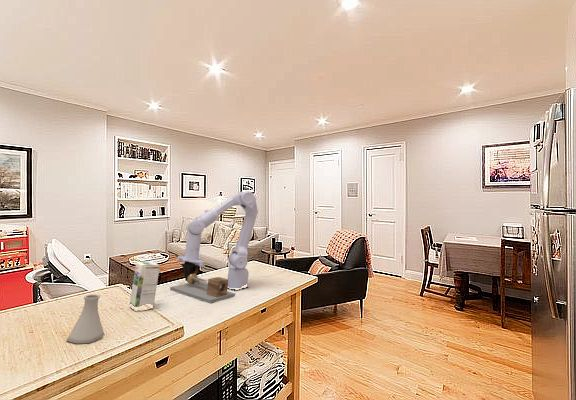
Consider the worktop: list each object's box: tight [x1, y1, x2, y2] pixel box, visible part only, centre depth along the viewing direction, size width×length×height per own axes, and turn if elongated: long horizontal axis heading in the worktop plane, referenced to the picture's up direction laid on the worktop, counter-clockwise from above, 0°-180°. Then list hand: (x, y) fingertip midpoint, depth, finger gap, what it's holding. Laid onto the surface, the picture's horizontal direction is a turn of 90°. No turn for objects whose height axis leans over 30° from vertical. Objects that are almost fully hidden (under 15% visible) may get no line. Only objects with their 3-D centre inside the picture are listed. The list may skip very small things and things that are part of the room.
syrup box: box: [129, 260, 161, 307], centre depth 92 cm, size 6×6×14 cm
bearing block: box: [207, 276, 229, 297], centre depth 112 cm, size 6×5×6 cm
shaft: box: [186, 272, 223, 290], centre depth 115 cm, size 4×17×4 cm, turn 61°
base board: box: [169, 282, 236, 304], centre depth 116 cm, size 14×22×1 cm, turn 61°
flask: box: [66, 293, 105, 344], centre depth 69 cm, size 7×7×10 cm
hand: (188, 280), depth 120 cm, fingers closed
